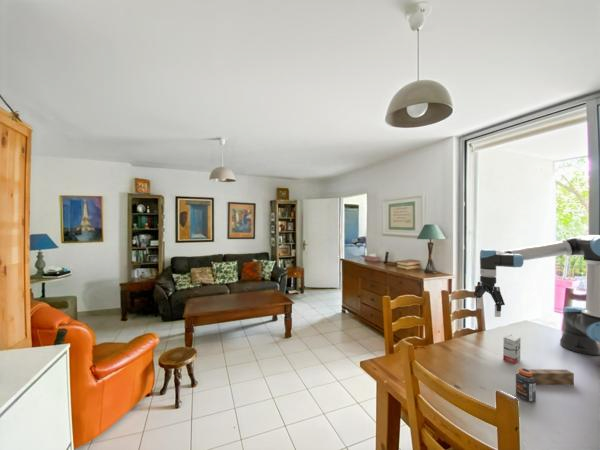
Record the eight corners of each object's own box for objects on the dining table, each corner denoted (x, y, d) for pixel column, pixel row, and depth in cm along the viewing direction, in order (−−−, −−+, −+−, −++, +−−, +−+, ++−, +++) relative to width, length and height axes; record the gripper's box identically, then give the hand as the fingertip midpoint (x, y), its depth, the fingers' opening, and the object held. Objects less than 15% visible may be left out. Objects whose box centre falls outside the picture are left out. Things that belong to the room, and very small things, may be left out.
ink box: (515, 364, 124) (514, 340, 124) (503, 360, 128) (502, 337, 128) (521, 359, 128) (520, 336, 129) (509, 355, 133) (508, 333, 133)
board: (566, 380, 111) (566, 369, 111) (573, 385, 108) (573, 373, 108) (523, 380, 111) (523, 369, 111) (529, 384, 108) (529, 373, 108)
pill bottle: (511, 393, 102) (511, 366, 102) (525, 392, 103) (524, 365, 103) (526, 404, 96) (525, 374, 96) (540, 403, 97) (539, 374, 97)
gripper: (467, 272, 157) (467, 305, 157) (499, 280, 132) (499, 320, 132) (478, 272, 157) (478, 305, 157) (513, 280, 132) (513, 320, 132)
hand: (488, 312), depth 144 cm, fingers open, 13 cm apart
